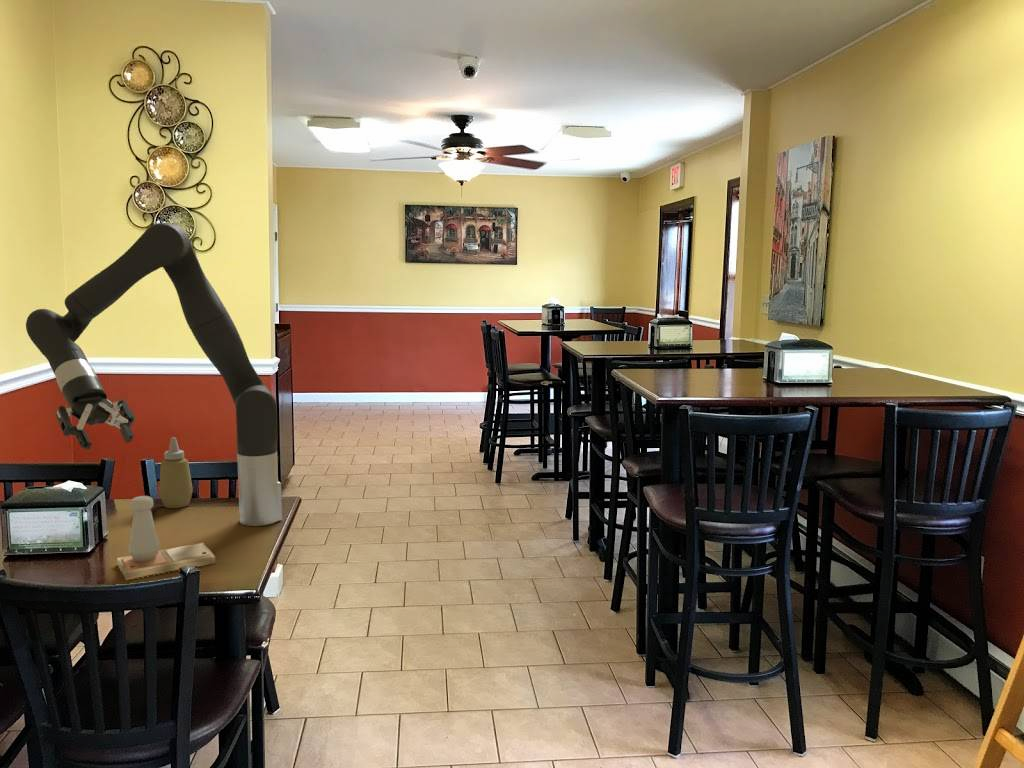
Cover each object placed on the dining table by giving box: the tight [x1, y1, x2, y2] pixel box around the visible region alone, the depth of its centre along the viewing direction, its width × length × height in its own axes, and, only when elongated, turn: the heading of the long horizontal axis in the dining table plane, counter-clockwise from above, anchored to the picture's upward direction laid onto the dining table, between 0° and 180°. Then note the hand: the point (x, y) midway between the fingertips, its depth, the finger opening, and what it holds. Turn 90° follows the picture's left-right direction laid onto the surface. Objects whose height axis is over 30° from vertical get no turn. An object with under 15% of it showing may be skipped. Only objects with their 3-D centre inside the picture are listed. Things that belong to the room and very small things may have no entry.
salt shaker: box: [128, 495, 160, 562], centre depth 159 cm, size 6×6×13 cm
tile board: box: [116, 542, 216, 579], centre depth 162 cm, size 17×10×2 cm, turn 125°
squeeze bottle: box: [158, 437, 194, 509], centre depth 201 cm, size 8×8×18 cm
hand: (109, 443), depth 163 cm, fingers open, 8 cm apart
